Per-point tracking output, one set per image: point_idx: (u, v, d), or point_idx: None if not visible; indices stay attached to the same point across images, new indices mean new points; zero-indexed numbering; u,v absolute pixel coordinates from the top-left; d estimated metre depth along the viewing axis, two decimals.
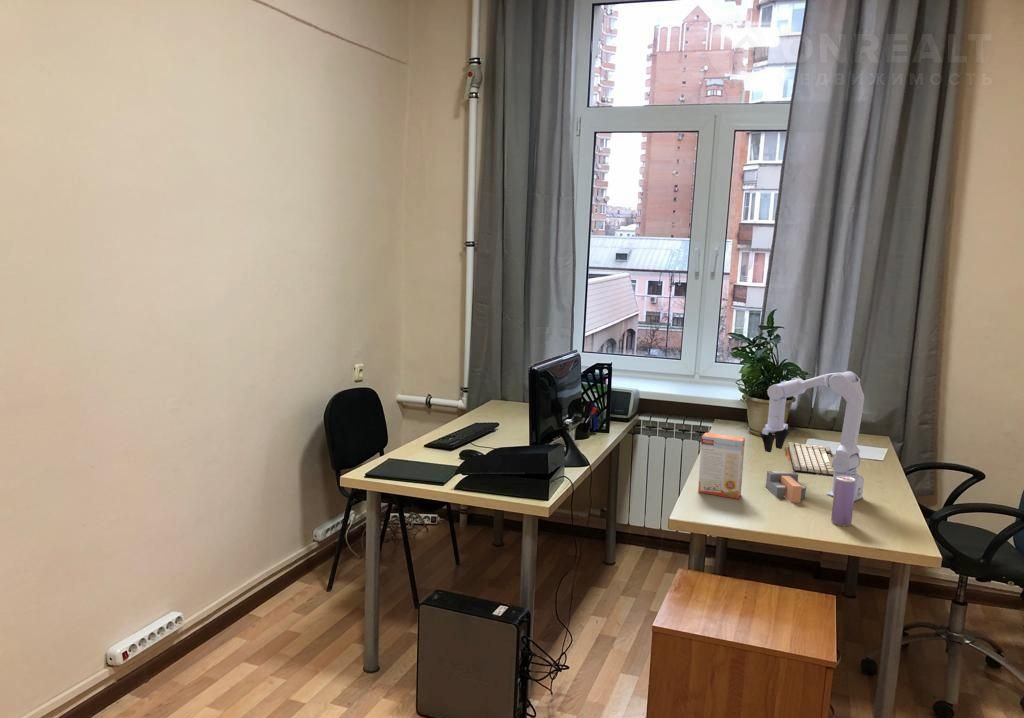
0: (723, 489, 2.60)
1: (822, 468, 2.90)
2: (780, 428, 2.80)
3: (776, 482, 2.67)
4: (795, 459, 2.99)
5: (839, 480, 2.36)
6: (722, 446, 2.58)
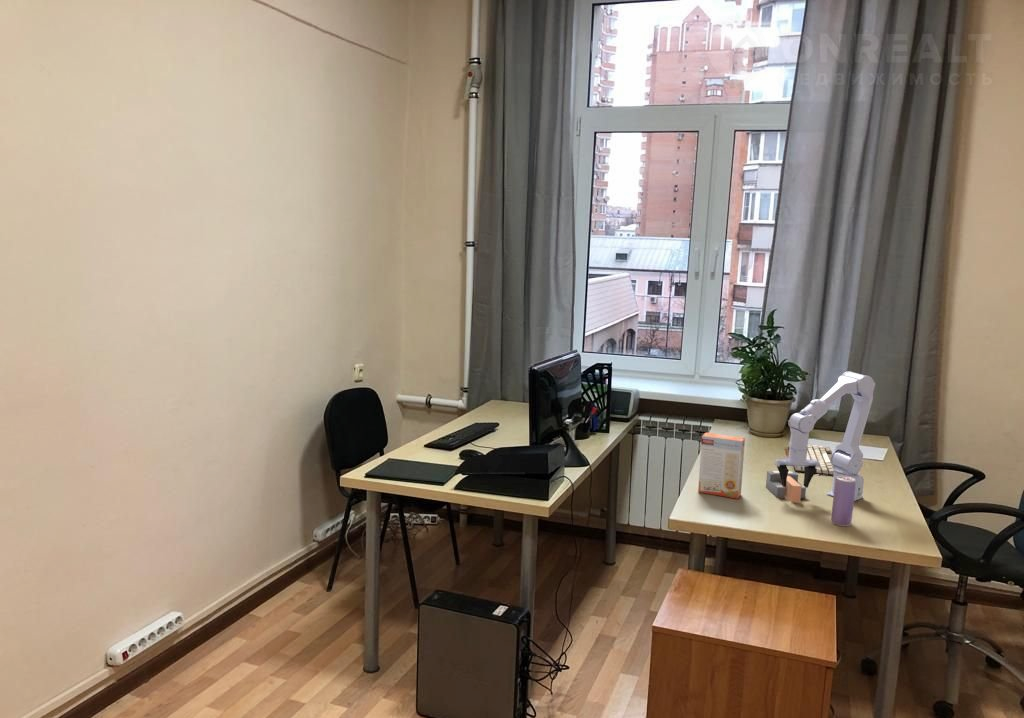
0: (723, 489, 2.60)
1: (823, 468, 2.90)
2: (797, 463, 2.54)
3: (776, 482, 2.67)
4: None
5: (839, 480, 2.36)
6: (722, 446, 2.58)
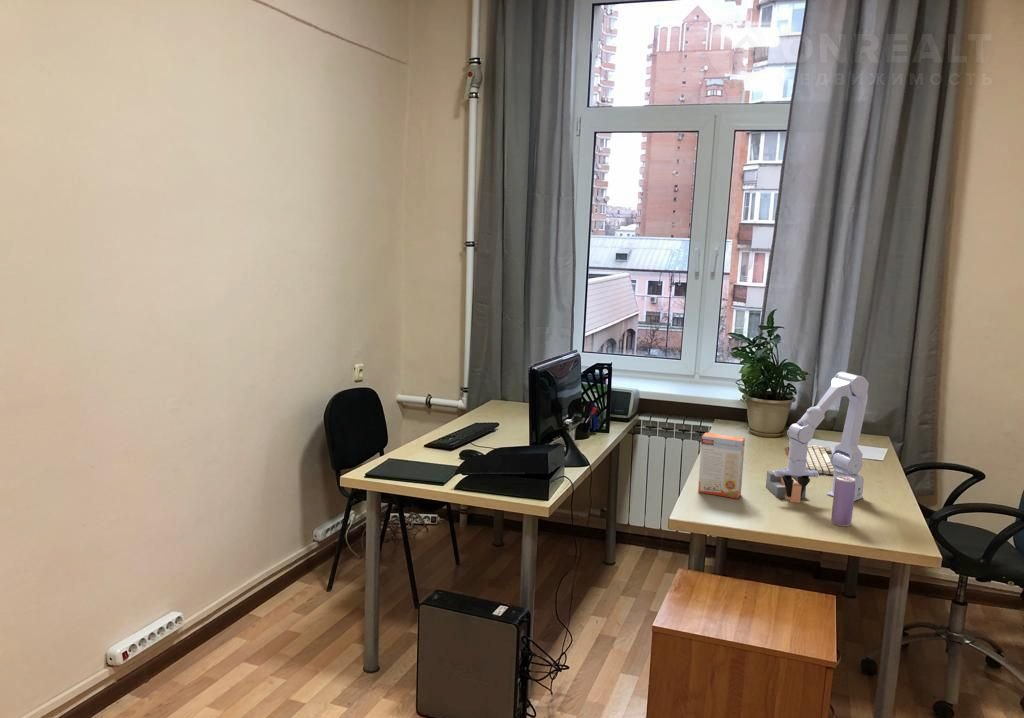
0: (723, 489, 2.60)
1: (824, 468, 2.90)
2: (796, 473, 2.55)
3: (776, 482, 2.67)
4: None
5: (839, 480, 2.36)
6: (722, 446, 2.58)
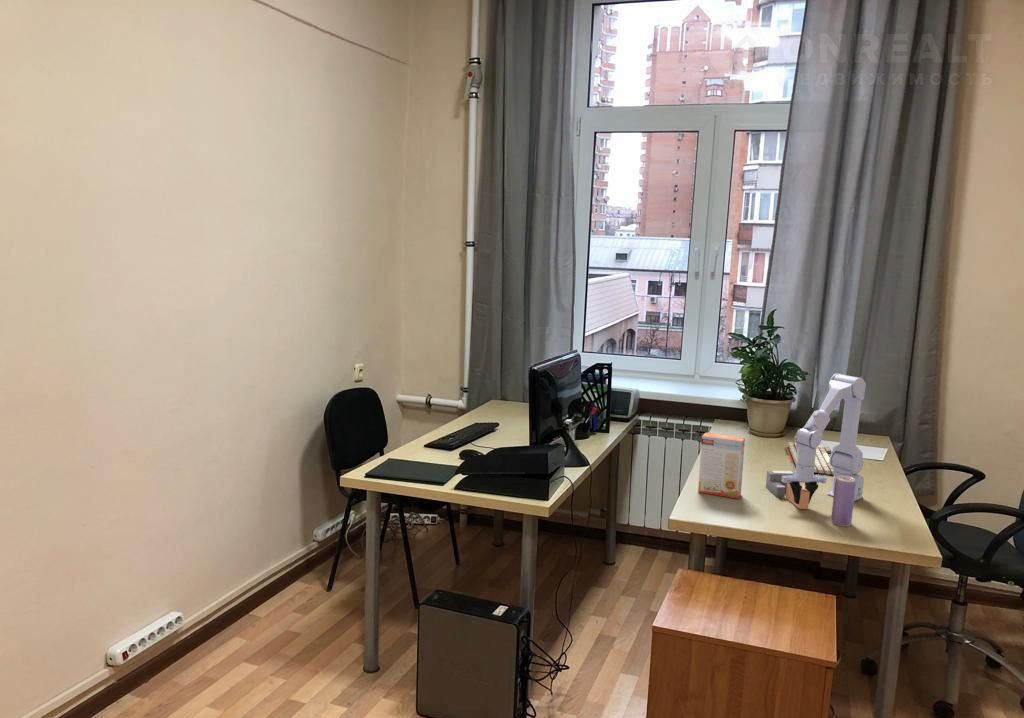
0: (723, 489, 2.60)
1: (825, 468, 2.90)
2: (804, 479, 2.48)
3: (776, 482, 2.67)
4: None
5: (839, 480, 2.36)
6: (722, 446, 2.58)
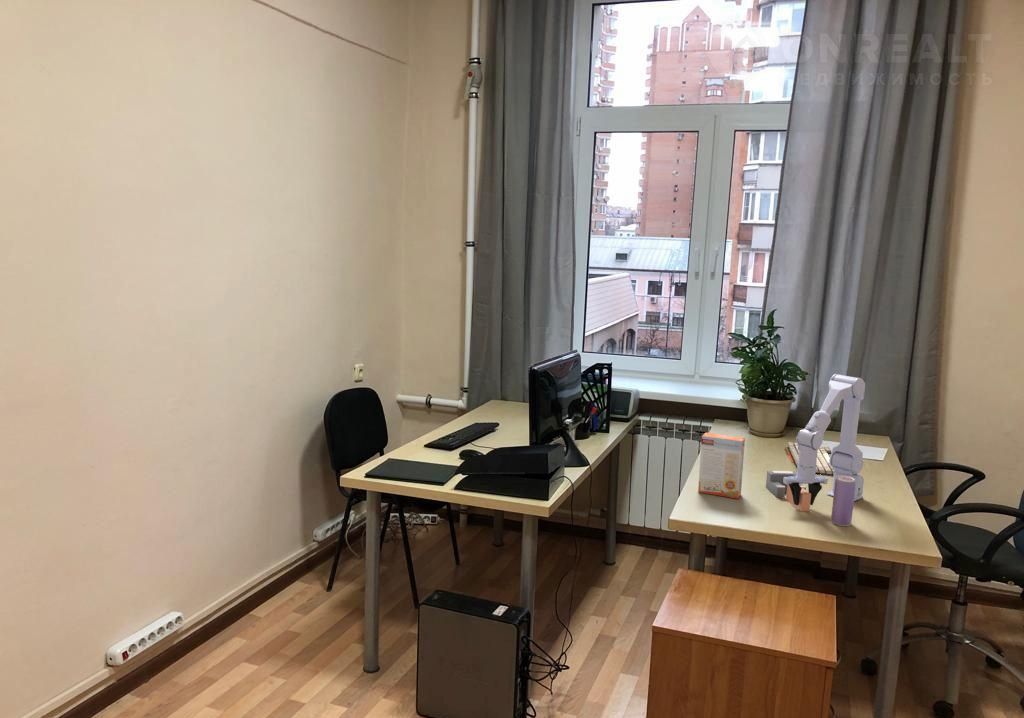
0: (723, 489, 2.60)
1: (826, 468, 2.90)
2: (806, 480, 2.47)
3: (776, 482, 2.67)
4: None
5: (839, 480, 2.36)
6: (722, 446, 2.58)
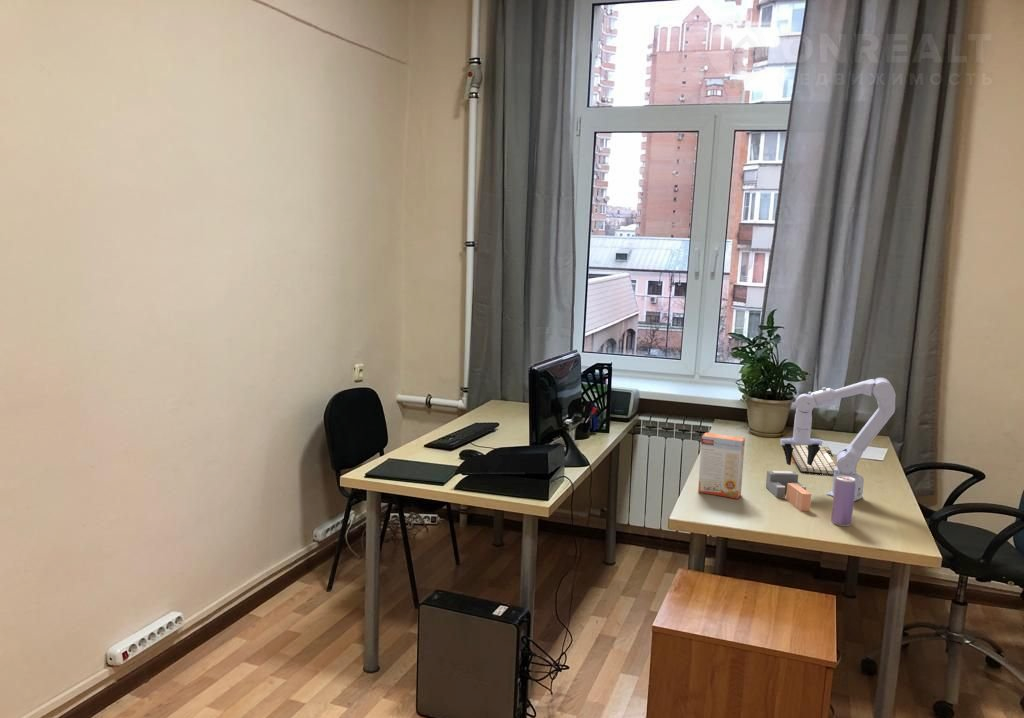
0: (723, 489, 2.60)
1: (828, 468, 2.90)
2: (801, 441, 2.64)
3: (776, 482, 2.67)
4: (799, 460, 2.99)
5: (839, 480, 2.36)
6: (722, 446, 2.58)
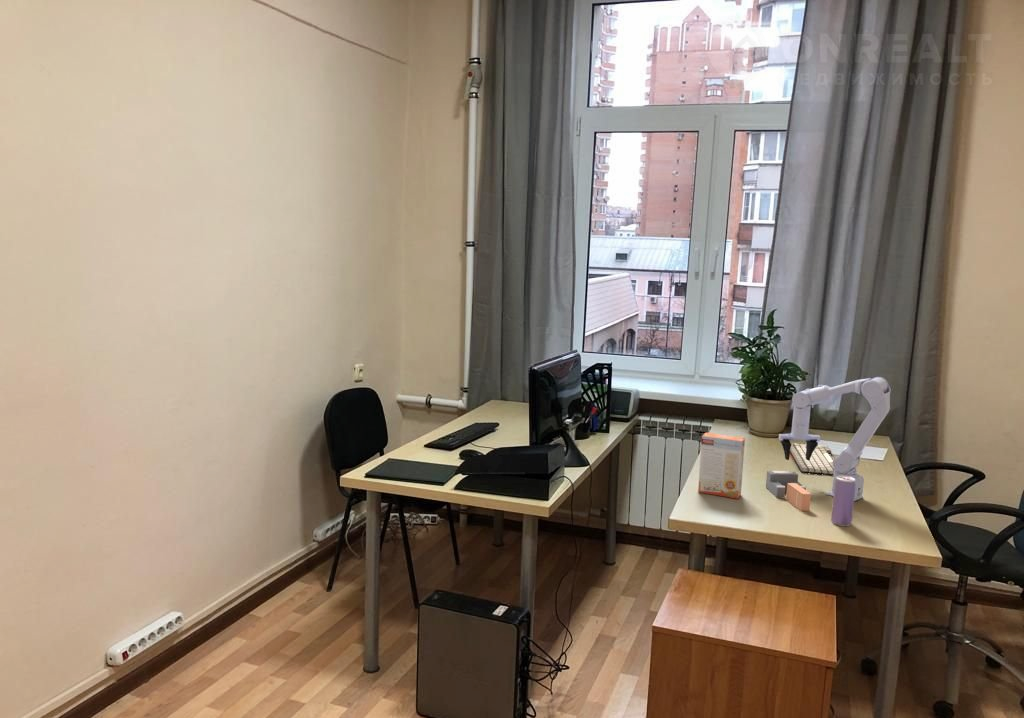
0: (723, 489, 2.60)
1: (829, 468, 2.90)
2: (799, 437, 2.71)
3: (776, 482, 2.67)
4: (800, 460, 2.99)
5: (839, 480, 2.36)
6: (722, 446, 2.58)
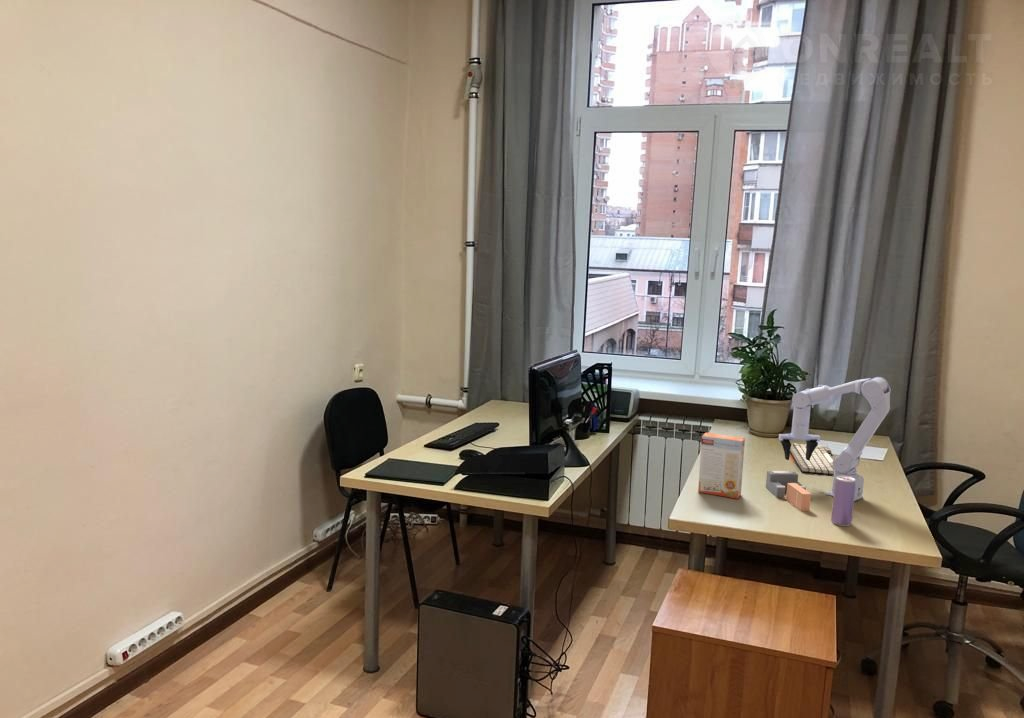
0: (723, 489, 2.60)
1: (829, 468, 2.90)
2: (799, 437, 2.71)
3: (776, 482, 2.67)
4: (800, 460, 2.98)
5: (839, 480, 2.36)
6: (722, 446, 2.58)
